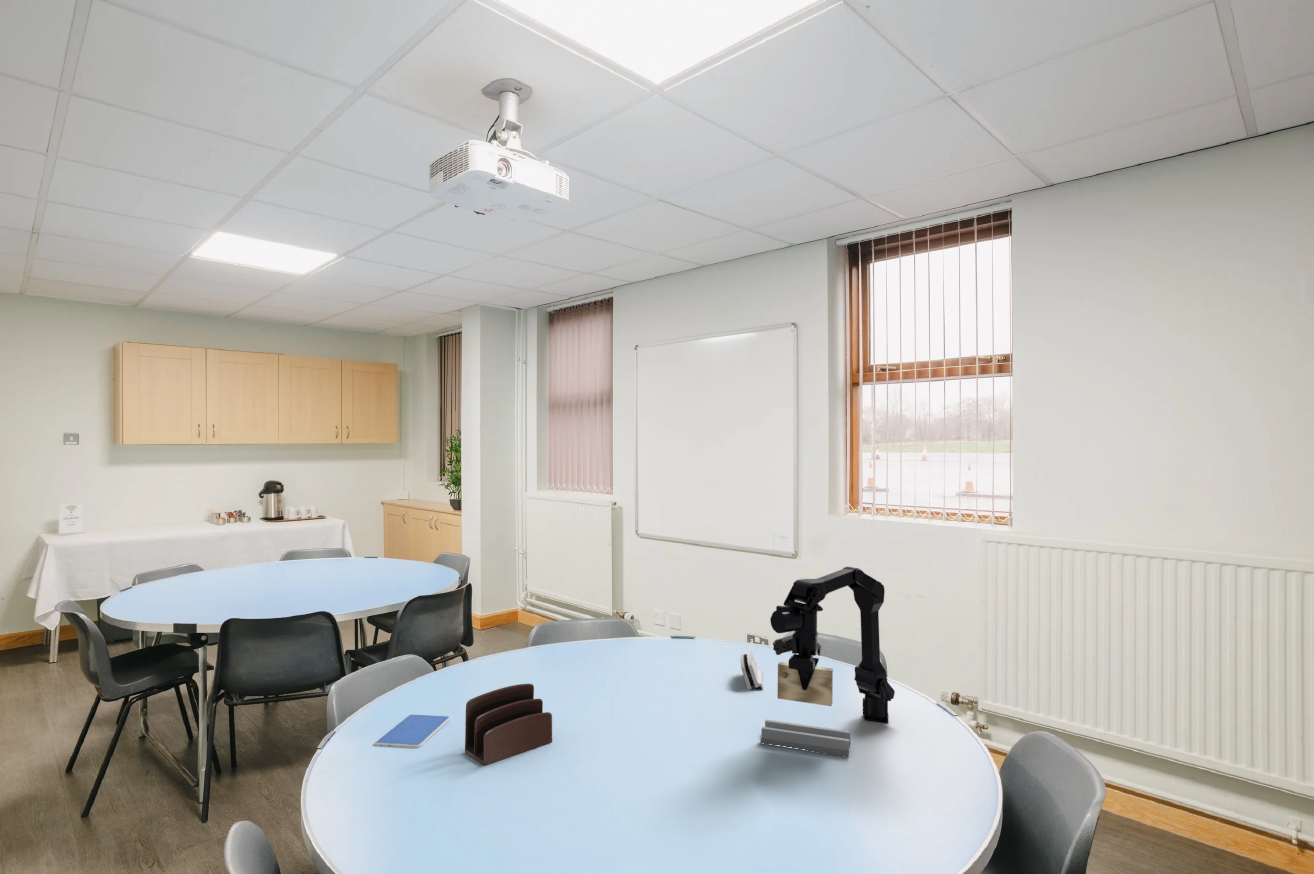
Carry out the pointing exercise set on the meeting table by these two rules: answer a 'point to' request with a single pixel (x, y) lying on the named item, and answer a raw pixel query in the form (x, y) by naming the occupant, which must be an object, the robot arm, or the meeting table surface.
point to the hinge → (751, 671)
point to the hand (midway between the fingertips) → (805, 688)
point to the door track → (806, 737)
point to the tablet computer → (413, 731)
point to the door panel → (816, 690)
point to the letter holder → (505, 724)
